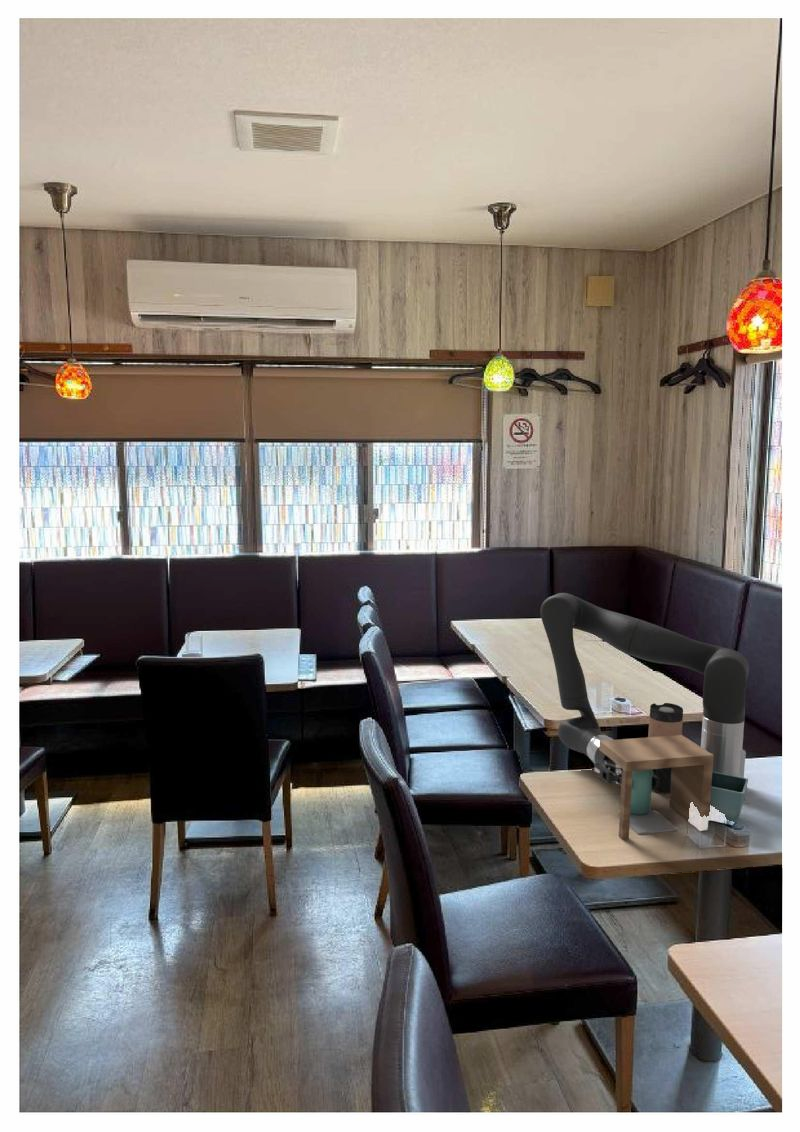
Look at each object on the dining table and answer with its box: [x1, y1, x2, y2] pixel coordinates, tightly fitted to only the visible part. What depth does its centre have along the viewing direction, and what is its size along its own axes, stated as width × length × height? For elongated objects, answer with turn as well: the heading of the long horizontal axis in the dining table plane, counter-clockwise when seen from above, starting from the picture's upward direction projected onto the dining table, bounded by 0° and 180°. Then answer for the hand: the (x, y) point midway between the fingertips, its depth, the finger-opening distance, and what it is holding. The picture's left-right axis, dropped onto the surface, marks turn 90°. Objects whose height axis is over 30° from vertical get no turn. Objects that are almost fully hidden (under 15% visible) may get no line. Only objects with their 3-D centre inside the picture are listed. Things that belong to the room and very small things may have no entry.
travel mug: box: [647, 702, 684, 794], centre depth 188 cm, size 8×8×20 cm
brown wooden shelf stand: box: [599, 734, 713, 841], centre depth 171 cm, size 20×12×17 cm, turn 102°
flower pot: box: [710, 772, 749, 823], centre depth 173 cm, size 9×9×9 cm
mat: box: [617, 809, 678, 835], centre depth 172 cm, size 9×9×1 cm
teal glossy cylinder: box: [630, 769, 653, 814], centre depth 175 cm, size 6×6×11 cm
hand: (643, 784), depth 172 cm, fingers closed on teal glossy cylinder, 6 cm apart
